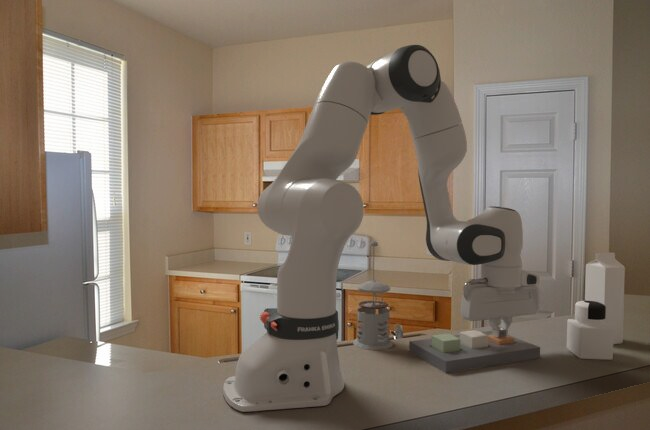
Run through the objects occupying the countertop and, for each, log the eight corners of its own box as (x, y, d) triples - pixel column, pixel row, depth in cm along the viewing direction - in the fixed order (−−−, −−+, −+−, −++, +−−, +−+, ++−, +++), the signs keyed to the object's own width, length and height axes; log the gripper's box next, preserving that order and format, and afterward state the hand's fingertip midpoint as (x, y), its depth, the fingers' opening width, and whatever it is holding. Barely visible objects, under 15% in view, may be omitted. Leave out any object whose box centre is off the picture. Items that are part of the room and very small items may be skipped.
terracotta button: (498, 352, 107) (499, 340, 106) (485, 346, 111) (485, 335, 111) (514, 349, 108) (514, 338, 108) (500, 344, 112) (500, 333, 112)
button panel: (445, 373, 96) (445, 361, 96) (409, 351, 109) (409, 341, 109) (539, 357, 105) (540, 347, 105) (495, 339, 118) (496, 330, 118)
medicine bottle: (597, 349, 111) (599, 299, 110) (613, 360, 104) (615, 306, 103) (566, 348, 111) (567, 298, 111) (579, 359, 104) (580, 305, 104)
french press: (348, 347, 112) (348, 242, 111) (360, 333, 123) (361, 237, 121) (389, 352, 108) (390, 243, 107) (398, 337, 119) (399, 239, 118)
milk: (622, 343, 115) (626, 254, 114) (602, 345, 114) (606, 254, 113) (601, 336, 121) (605, 251, 120) (582, 338, 119) (586, 251, 118)
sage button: (443, 353, 101) (443, 341, 101) (431, 347, 105) (431, 335, 105) (460, 350, 103) (460, 339, 103) (448, 344, 107) (448, 333, 107)
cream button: (471, 349, 104) (472, 337, 104) (459, 343, 108) (459, 332, 108) (488, 346, 105) (488, 335, 105) (475, 341, 110) (475, 330, 109)
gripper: (473, 282, 102) (472, 345, 103) (545, 276, 109) (543, 335, 110) (455, 277, 108) (454, 337, 108) (524, 272, 115) (523, 328, 116)
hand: (499, 336), depth 109 cm, fingers closed
